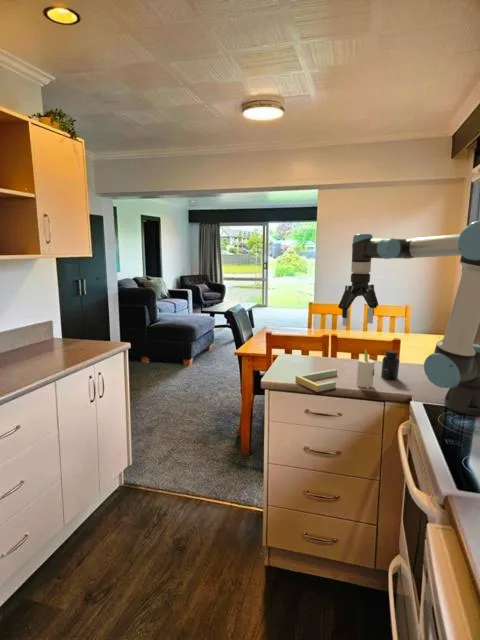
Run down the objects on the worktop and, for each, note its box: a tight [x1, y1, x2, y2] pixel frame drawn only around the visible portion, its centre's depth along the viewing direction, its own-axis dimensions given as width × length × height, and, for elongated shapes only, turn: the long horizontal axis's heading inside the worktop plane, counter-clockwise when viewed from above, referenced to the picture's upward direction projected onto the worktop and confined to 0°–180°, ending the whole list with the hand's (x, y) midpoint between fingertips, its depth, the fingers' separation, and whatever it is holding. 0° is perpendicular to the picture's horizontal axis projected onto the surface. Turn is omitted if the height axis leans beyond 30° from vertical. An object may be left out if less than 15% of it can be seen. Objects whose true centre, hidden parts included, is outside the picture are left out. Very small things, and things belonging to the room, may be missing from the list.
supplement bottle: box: [380, 349, 400, 381], centre depth 175 cm, size 7×7×12 cm
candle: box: [356, 349, 376, 388], centre depth 165 cm, size 6×6×15 cm
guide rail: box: [295, 368, 338, 393], centre depth 168 cm, size 14×22×2 cm, turn 120°
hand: (357, 324), depth 168 cm, fingers open, 13 cm apart
